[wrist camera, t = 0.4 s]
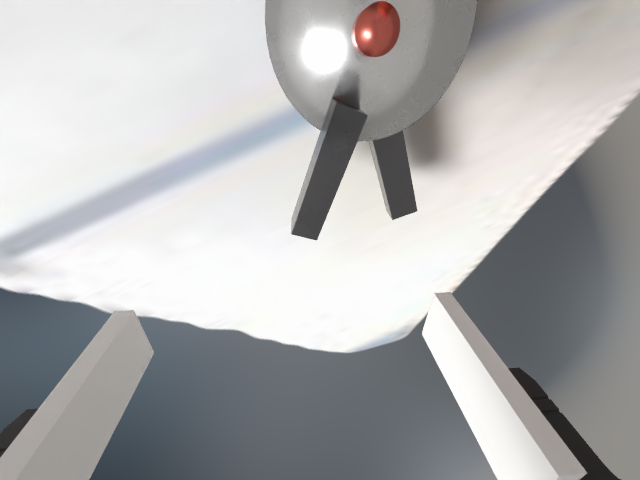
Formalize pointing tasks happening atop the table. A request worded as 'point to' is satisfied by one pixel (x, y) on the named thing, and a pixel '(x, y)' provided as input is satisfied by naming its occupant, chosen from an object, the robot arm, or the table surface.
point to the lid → (360, 76)
